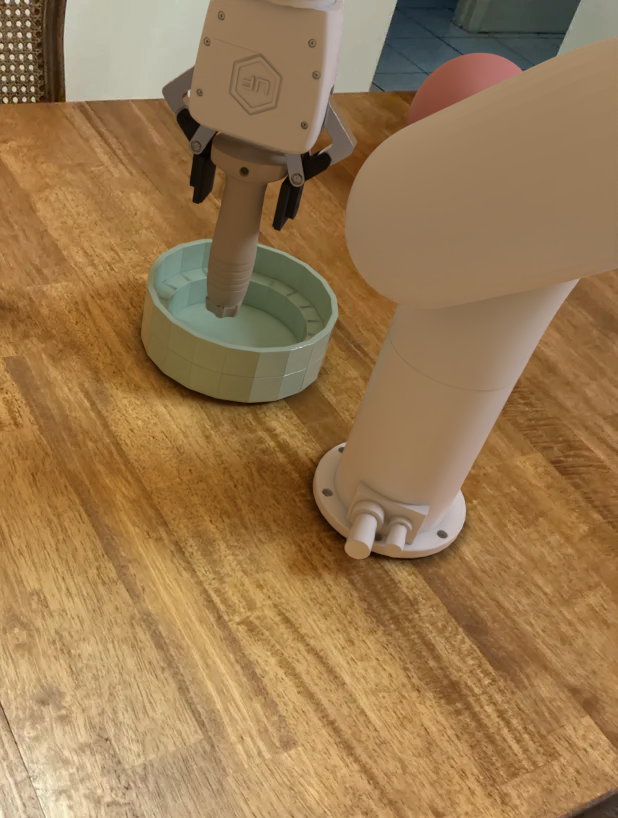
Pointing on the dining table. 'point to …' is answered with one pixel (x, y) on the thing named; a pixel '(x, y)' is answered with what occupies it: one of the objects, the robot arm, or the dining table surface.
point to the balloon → (459, 82)
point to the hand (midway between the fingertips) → (241, 208)
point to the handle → (238, 218)
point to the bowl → (238, 325)
